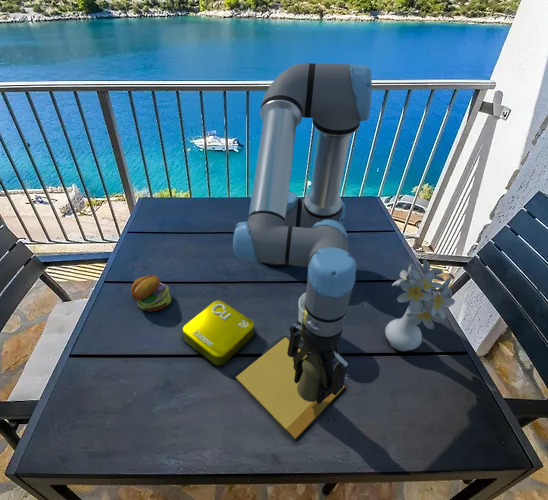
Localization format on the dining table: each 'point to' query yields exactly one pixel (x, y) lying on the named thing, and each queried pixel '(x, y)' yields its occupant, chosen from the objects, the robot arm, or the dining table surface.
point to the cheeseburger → (150, 293)
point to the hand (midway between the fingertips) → (310, 388)
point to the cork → (310, 379)
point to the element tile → (218, 332)
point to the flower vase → (418, 306)
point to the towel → (281, 390)
